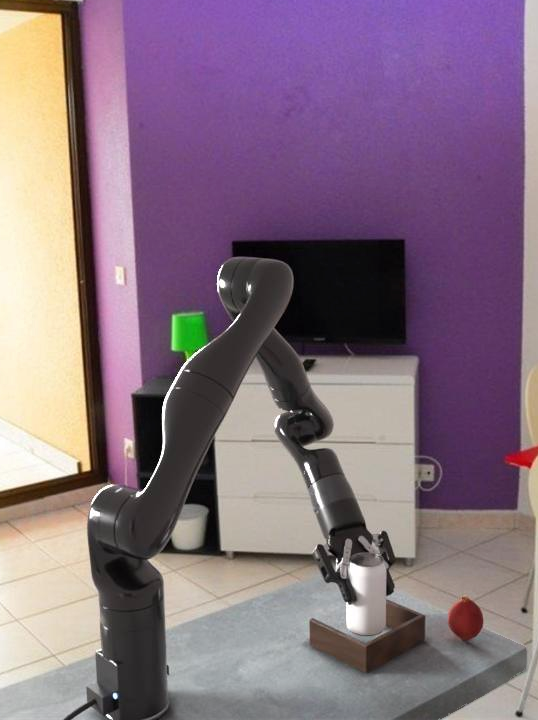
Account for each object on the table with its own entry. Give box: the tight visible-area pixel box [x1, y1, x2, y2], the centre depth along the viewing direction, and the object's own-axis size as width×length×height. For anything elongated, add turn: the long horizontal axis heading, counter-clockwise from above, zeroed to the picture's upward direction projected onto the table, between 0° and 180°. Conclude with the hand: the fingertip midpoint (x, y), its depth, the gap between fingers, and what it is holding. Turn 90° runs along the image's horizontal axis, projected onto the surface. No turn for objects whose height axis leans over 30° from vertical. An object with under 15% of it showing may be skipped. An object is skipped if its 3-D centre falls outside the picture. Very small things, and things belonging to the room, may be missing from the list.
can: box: [346, 552, 387, 637], centre depth 149 cm, size 6×6×12 cm
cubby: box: [309, 598, 426, 674], centre depth 150 cm, size 15×13×4 cm
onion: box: [446, 595, 485, 642], centre depth 150 cm, size 6×6×8 cm
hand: (371, 598), depth 147 cm, fingers closed on can, 6 cm apart
